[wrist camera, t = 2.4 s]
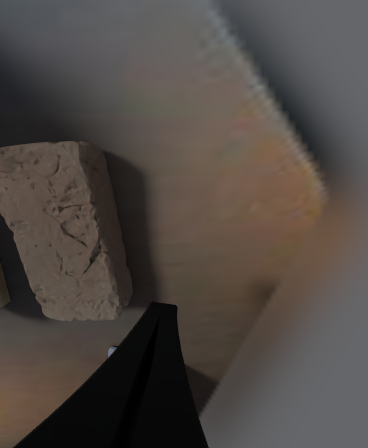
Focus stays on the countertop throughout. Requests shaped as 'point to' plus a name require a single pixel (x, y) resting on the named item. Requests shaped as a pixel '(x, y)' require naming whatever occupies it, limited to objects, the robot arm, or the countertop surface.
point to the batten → (3, 289)
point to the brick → (66, 228)
